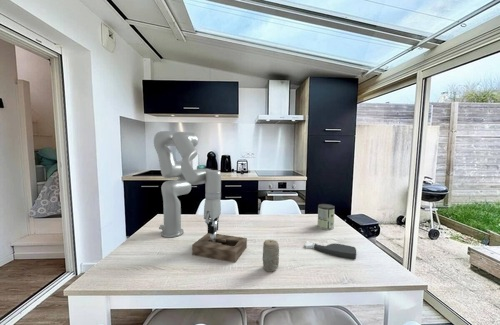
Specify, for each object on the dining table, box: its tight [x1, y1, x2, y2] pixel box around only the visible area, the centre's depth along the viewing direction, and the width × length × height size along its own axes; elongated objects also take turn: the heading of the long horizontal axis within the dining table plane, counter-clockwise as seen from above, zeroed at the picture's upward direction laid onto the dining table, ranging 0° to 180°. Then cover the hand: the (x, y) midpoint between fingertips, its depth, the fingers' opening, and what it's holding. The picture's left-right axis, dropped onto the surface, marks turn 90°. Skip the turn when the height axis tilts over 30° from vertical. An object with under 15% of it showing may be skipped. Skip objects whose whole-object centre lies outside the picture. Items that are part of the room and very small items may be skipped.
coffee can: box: [317, 203, 335, 231], centre depth 149 cm, size 10×10×14 cm
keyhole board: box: [191, 232, 248, 263], centre depth 113 cm, size 22×16×5 cm
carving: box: [262, 239, 280, 272], centre depth 97 cm, size 6×8×12 cm
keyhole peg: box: [210, 220, 218, 242], centre depth 114 cm, size 6×6×14 cm
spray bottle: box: [304, 240, 357, 260], centre depth 116 cm, size 3×11×24 cm
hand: (212, 231), depth 114 cm, fingers closed on keyhole peg, 4 cm apart
